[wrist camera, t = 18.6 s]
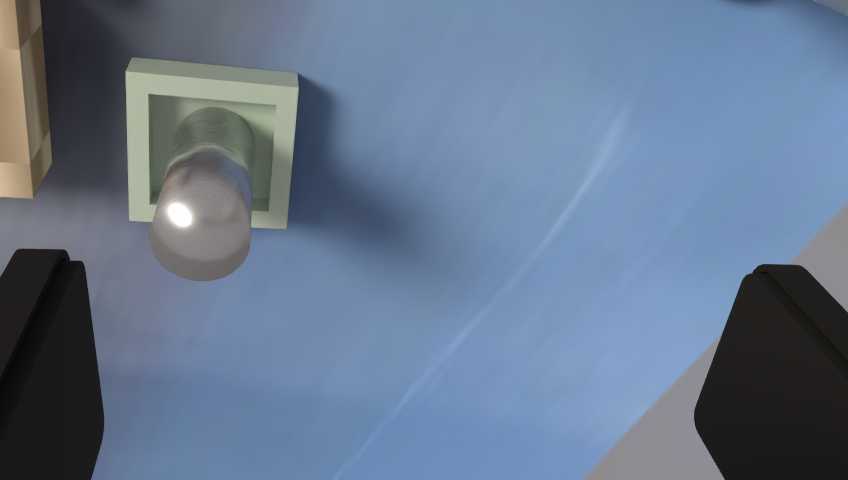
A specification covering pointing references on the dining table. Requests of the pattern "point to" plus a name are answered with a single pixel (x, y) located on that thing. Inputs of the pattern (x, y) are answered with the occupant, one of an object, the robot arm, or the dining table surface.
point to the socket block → (22, 100)
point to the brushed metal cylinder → (206, 197)
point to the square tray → (199, 88)
